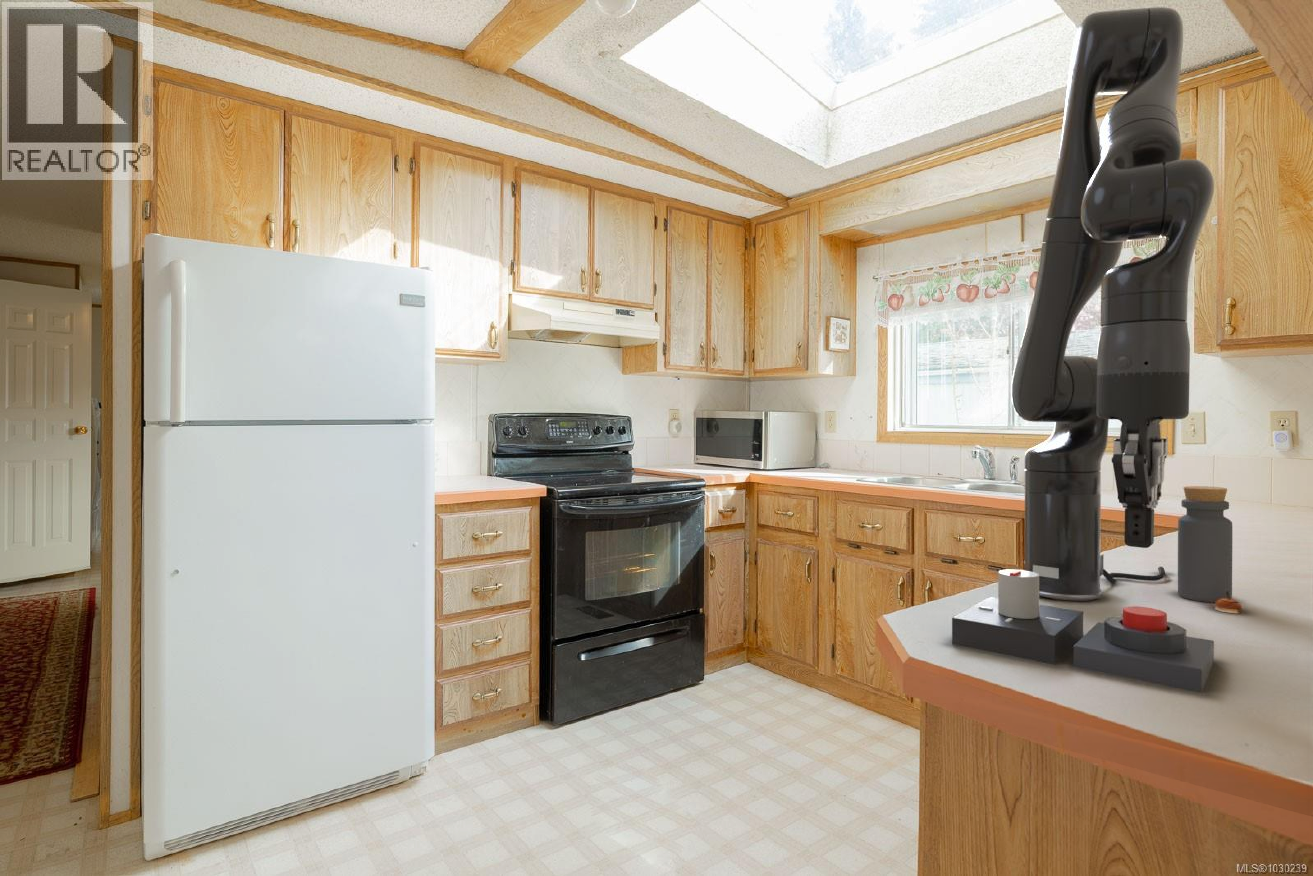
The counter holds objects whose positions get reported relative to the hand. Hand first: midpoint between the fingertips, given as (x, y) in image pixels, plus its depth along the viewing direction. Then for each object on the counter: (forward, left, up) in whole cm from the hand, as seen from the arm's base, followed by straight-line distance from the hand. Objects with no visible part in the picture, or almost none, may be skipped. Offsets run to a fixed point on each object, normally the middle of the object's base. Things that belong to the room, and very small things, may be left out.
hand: (1138, 545), depth 70 cm
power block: (0, +1, -12) cm, 12 cm away
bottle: (-37, +2, -12) cm, 39 cm away
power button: (0, +1, -8) cm, 8 cm away
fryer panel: (0, -11, -12) cm, 16 cm away
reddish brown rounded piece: (-31, +5, -12) cm, 34 cm away
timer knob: (0, -11, -9) cm, 14 cm away
